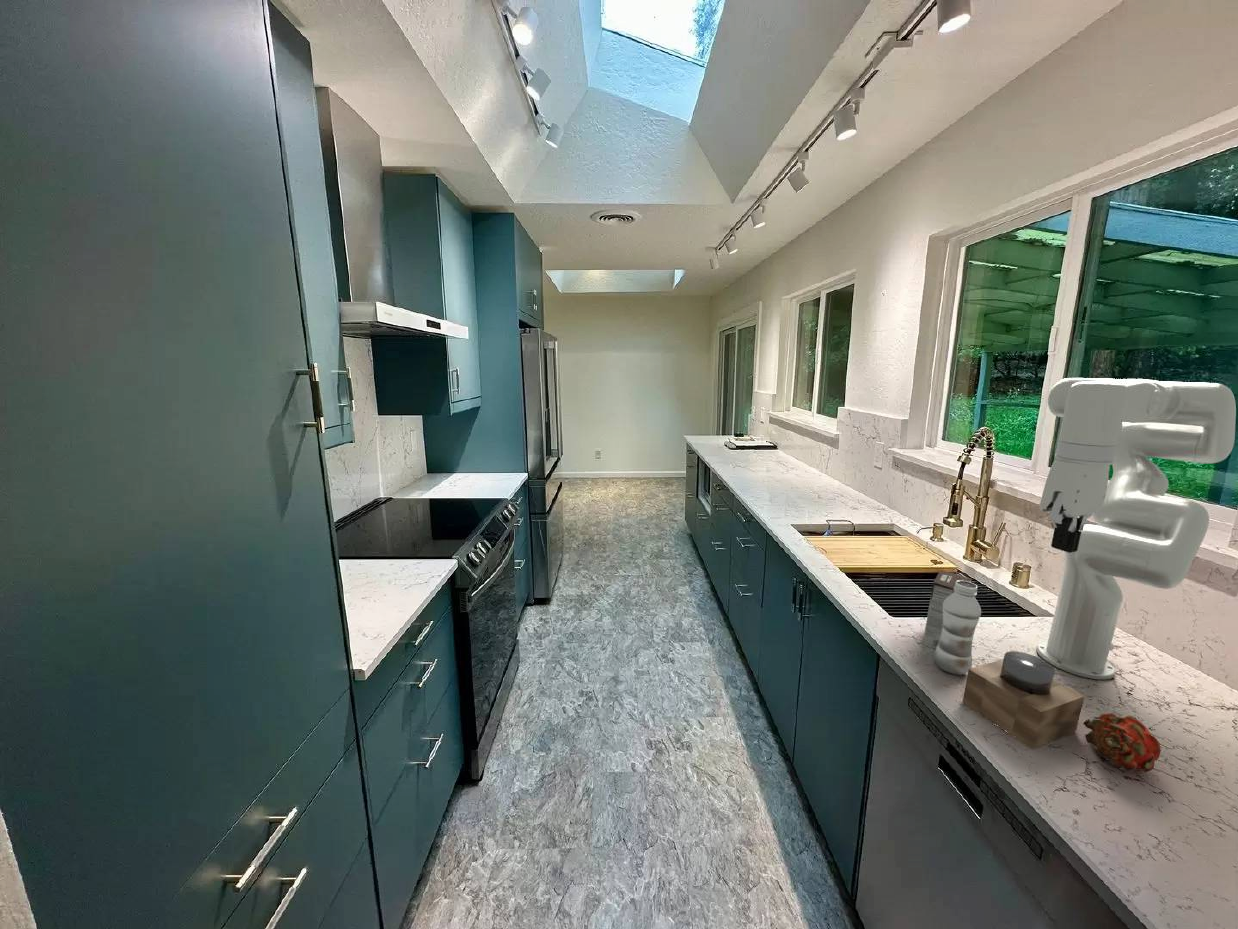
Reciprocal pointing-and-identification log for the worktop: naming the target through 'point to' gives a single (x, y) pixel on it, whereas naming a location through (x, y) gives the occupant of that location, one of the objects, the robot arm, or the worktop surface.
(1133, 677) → the worktop surface
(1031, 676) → the grey metal cylinder
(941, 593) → the coffee box
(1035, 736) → the hitch block
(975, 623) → the plastic bottle
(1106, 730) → the dragon fruit
